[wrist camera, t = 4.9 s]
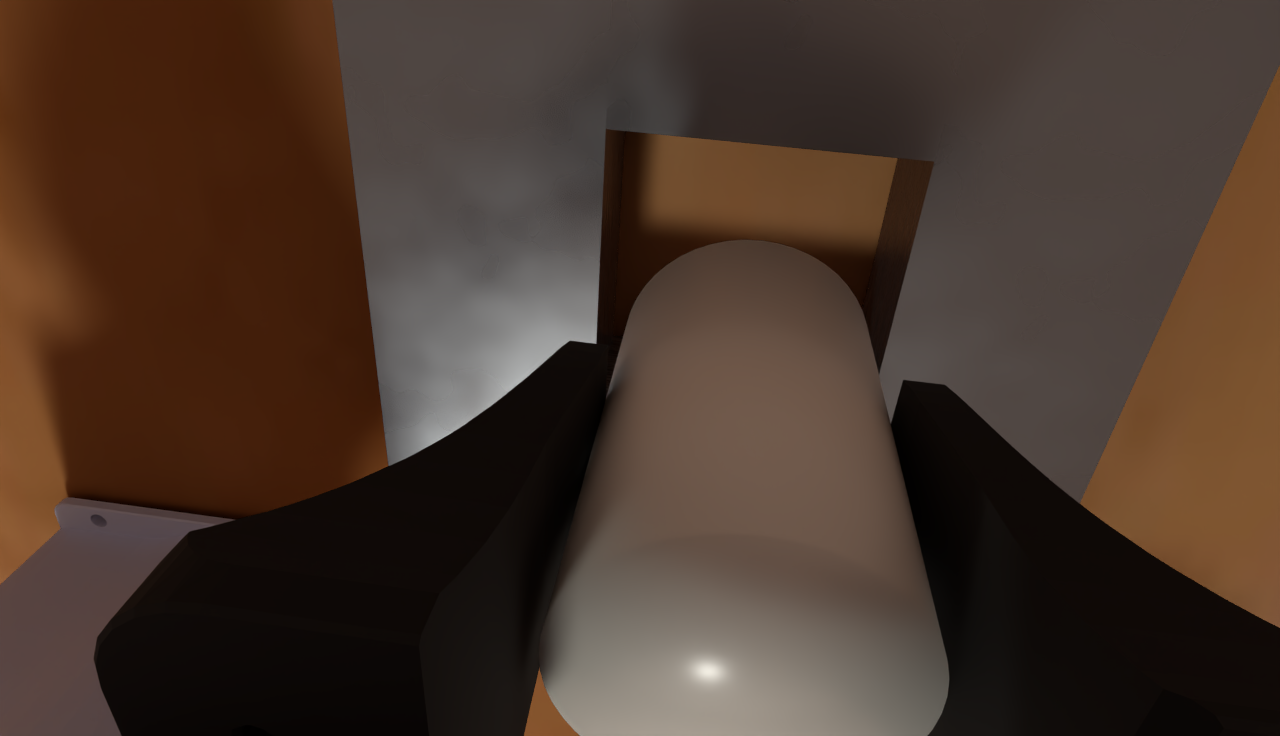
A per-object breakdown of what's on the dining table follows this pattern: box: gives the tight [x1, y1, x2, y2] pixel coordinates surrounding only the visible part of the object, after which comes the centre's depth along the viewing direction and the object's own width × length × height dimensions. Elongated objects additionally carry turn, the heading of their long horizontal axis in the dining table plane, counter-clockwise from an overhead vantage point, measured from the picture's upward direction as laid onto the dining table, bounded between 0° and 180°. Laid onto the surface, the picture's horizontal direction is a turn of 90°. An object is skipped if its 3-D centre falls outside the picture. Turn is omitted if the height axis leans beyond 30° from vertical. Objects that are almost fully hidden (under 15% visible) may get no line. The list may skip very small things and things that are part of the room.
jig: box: [333, 0, 1280, 504], centre depth 18 cm, size 16×14×3 cm
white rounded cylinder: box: [538, 240, 949, 736], centre depth 12 cm, size 4×4×7 cm
